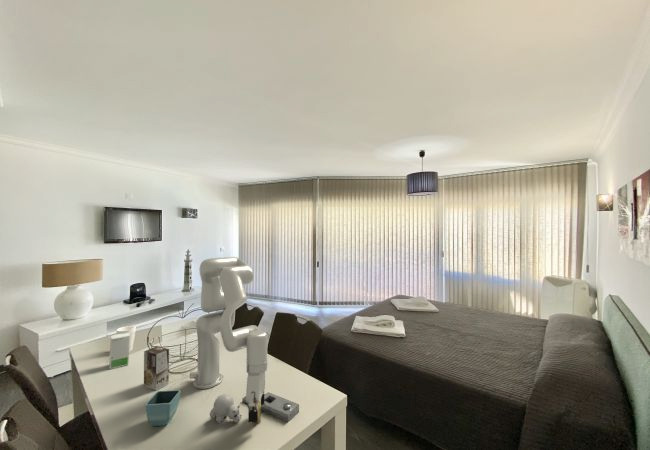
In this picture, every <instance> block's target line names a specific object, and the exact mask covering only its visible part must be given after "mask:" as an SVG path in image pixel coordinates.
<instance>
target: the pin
mask: <svg viewBox="0 0 650 450" xmlns="http://www.w3.org/2000/svg"><path fill="white" fill-rule="evenodd" d="M254 401H256V399H254ZM255 404H256V403H253V406H254V407H255ZM257 410H258V421H257V422H251V423H252V425H255V426H257V425H259V424H261V423H262V420H261V419H262V416H261V415H262V410H261V400H260V402H258V405H257Z"/></svg>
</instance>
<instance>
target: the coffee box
mask: <svg viewBox="0 0 650 450" xmlns="http://www.w3.org/2000/svg"><path fill="white" fill-rule="evenodd" d="M169 366H170V349H169V348H167V347H161V346H158V345H156V346H154V347H151V348H149V349H147V350H144V351H143V387H145V388H148V389H150V390H154V391H159V390H160V389H162V388H163V387H166V386H167V385H169V383H170V382H169V375H170V373H169V368H170V367H169Z"/></svg>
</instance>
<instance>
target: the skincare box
mask: <svg viewBox="0 0 650 450" xmlns="http://www.w3.org/2000/svg"><path fill="white" fill-rule="evenodd" d="M129 342H130V334H129V333H124V334H118V335H117V334H113V335H110V341H109V343H110V347H109V362H108V363H109V370H112V369H116V368H122V367H125V365H126V366H129V365H128V364H129V361H130V351H129ZM121 366H122V367H121Z"/></svg>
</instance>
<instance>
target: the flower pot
mask: <svg viewBox="0 0 650 450" xmlns="http://www.w3.org/2000/svg"><path fill="white" fill-rule="evenodd" d="M180 396H181V389H178V390H177V389H174V390H173V389H172V390H171V389H170V390H157V391H156V392H155V393H154V395H153V396H151V397H150V398H149V400H148V401H147V402H146V403H145V404H144V405H145V406H144V407H145V414H146V419H147V421H148V423H149V424H150V425H151V426H152V427H158V426H167V425H168V424H169V423H170V422H171V420H172V419H173V417H174V416H175V414H176V412H177V410H178V406H179V404H180Z"/></svg>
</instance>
